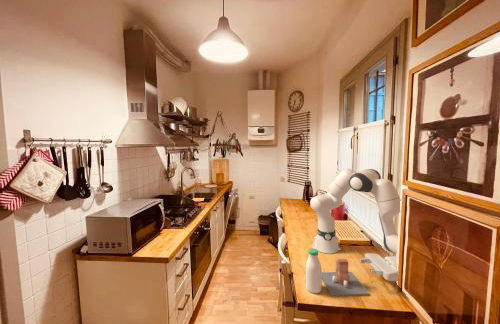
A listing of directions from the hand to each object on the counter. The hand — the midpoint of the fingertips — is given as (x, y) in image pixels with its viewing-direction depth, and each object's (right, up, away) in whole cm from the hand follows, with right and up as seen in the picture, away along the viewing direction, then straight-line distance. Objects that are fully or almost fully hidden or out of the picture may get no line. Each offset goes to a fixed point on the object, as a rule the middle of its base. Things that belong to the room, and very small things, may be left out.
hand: (365, 266), depth 108 cm
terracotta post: (-12, -9, 0) cm, 15 cm away
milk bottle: (-28, -10, -3) cm, 30 cm away
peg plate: (-12, -10, 0) cm, 15 cm away
